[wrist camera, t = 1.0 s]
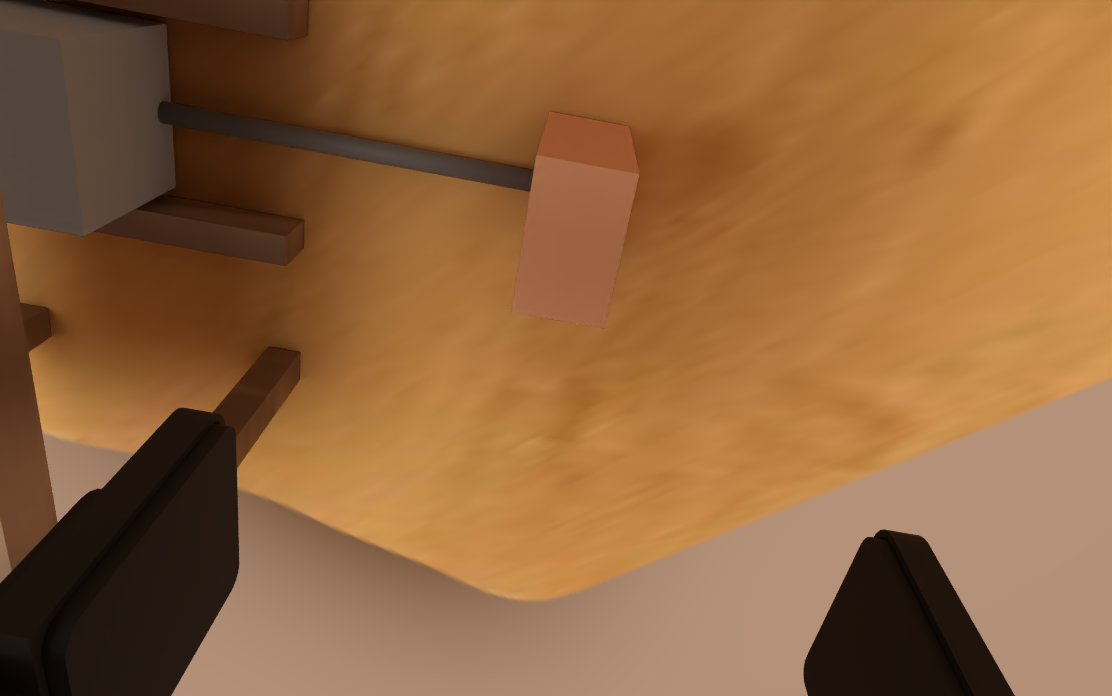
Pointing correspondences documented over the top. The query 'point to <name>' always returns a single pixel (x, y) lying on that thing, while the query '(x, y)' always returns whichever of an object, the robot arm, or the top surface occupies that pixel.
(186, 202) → the wooden side table
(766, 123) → the top surface
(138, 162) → the lopsided dumbbell
